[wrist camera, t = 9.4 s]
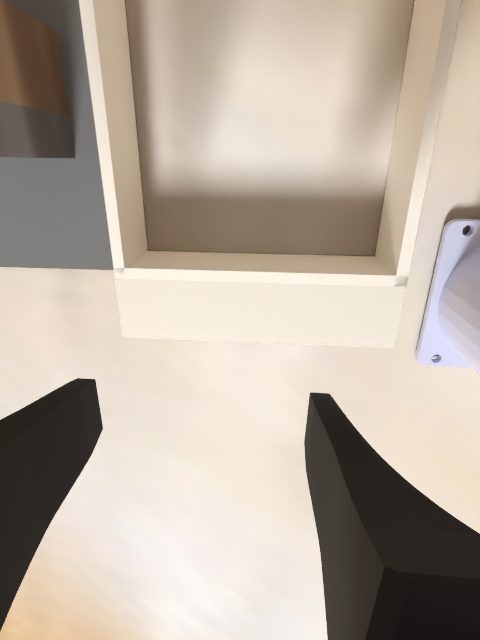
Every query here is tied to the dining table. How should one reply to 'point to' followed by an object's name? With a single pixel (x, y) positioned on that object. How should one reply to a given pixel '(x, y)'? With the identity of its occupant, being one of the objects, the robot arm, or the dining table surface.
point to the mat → (58, 171)
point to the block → (31, 90)
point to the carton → (264, 269)
